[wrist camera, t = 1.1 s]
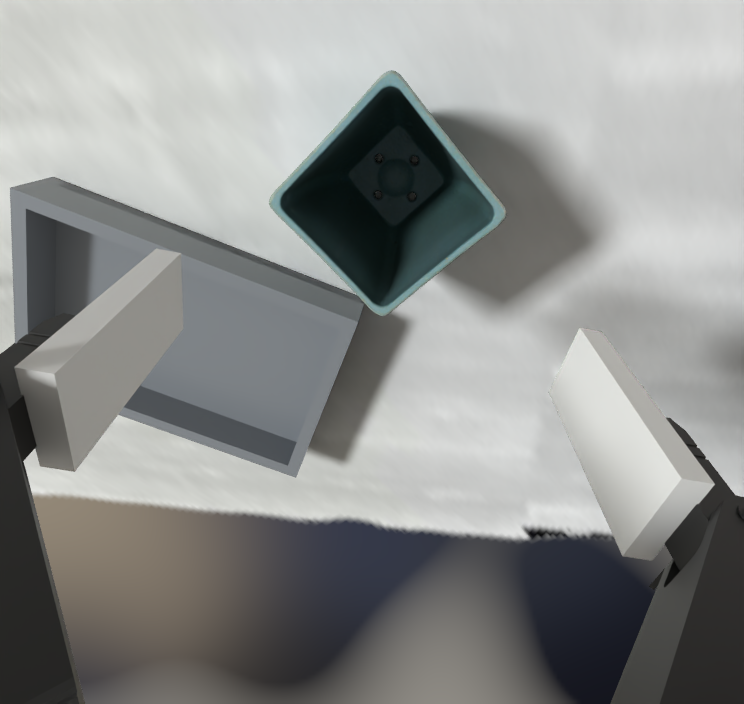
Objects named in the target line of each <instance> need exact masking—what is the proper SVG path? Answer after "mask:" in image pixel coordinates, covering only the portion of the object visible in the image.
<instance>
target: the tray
mask: <svg viewBox="0 0 744 704" xmlns="http://www.w3.org/2000/svg"><path fill="white" fill-rule="evenodd" d="M10 201H11V231H12V262H13V292H14V322H15V343H17V342H18V340H19V339H21V338H22V337H23V336H25V335H26V334H28V335H29V332H30V331H31V330H32V329H34V328H35V327H36V326H38V325H39V324H40V323H41V322H43V321H45V320H47V319H50V318H52V317H55V316H58V315H60V314H63V313H66V314H71V315H77V314H79V313H80V312H81V311H82V310H83V309H85V308H86V307H87V306H88V305H89V304H91V303H92V302H93V301H94V300H95V299H97V298H98V297H99V296H100V295H101V294H102V293H104V292H105V291H106V290H107V289H108V288H110V287H111V286H112V285H113V284H114V283H116V282H117V281H118V280H119V279H120V278H122V277H123V276H124V275H125V274H126V273H128V272H129V271H130V270H131V269H132V268H134V267H135V266H136V265H137V264H138V263H140V262H141V261H142V260H143V259H144V258H146V257H147V256H148V255H149V254H150V253H152V252H153V251H154V250H155V249H161V250H167V251H172V252H177V253H181V271H182V303H183V329H182V331H181V332H180V333H179V335H178V336H177V337H176V339H175V340H174V341H173V342H172V344H171V345H170V346H169V348H168V349H167V350H166V352H165V353H164V354H163V356H162V357H161V358H160V360H159V361H158V362H157V364H156V365H155V366H154V368H153V369H152V370H151V372H150V373H149V374H148V376H147V377H146V378H145V380H144V381H143V382H142V383H141V385H140V386H139V387H138V389H137V390H136V391H135V393H134V394H133V395H132V397H131V398H130V399H129V401H128V402H127V403H126V405H125V406H124V407H123V409H122V410H121V411H120V413H119V414H118V415H121V416H124V417H126V418H129V419H132V420H135V421H138V422H140V423H143V424H146V425H149V426H152V427H155V428H157V429H160V430H163V431H166V432H169V433H171V434H174V435H177V436H180V437H183V438H186V439H188V440H191V441H194V442H197V443H200V444H203V445H205V446H208V447H211V448H214V449H217V450H219V451H222V452H225V453H228V454H231V455H234V456H236V457H239V458H242V459H245V460H248V461H250V462H253V463H256V464H259V465H262V466H265V467H267V468H270V469H273V470H276V471H279V472H281V473H284V474H287V475H290V476H293V477H296V476H297V474H298V471H299V469H300V466H301V464H302V461H303V459H304V456H305V454H306V451H307V449H308V446H309V444H310V441H311V439H312V436H313V434H314V431H315V429H316V426H317V424H318V421H319V419H320V416H321V414H322V411H323V409H324V406H325V404H326V401H327V399H328V396H329V394H330V391H331V389H332V386H333V384H334V381H335V379H336V376H337V374H338V371H339V369H340V367H341V364H342V362H343V359H344V357H345V354H346V352H347V349H348V347H349V344H350V342H351V339H352V337H353V334H354V332H355V329H356V327H357V324H358V321H359V318H360V315H361V312H362V309H363V306H364V302H363V301H362V300H361V299H360V298H359V296H357V295H354V294H352V293H349V292H346V291H344V290H341V289H339V288H336V287H334V286H331V285H329V284H326V283H323V282H321V281H318V280H316V279H313V278H311V277H308V276H306V275H303V274H300V273H298V272H295V271H293V270H290V269H288V268H285V267H282V266H280V265H277V264H275V263H272V262H270V261H267V260H265V259H262V258H259V257H257V256H254V255H252V254H249V253H247V252H244V251H241V250H239V249H236V248H234V247H231V246H229V245H226V244H224V243H221V242H218V241H216V240H213V239H211V238H208V237H206V236H203V235H201V234H198V233H195V232H193V231H190V230H188V229H185V228H183V227H180V226H177V225H175V224H172V223H170V222H167V221H165V220H162V219H160V218H157V217H154V216H152V215H149V214H147V213H144V212H142V211H139V210H137V209H134V208H131V207H129V206H126V205H124V204H121V203H119V202H116V201H113V200H111V199H108V198H106V197H103V196H101V195H98V194H96V193H93V192H90V191H88V190H85V189H83V188H80V187H78V186H75V185H72V184H70V183H67V182H65V181H62V180H60V179H57V178H55V177H50V178H47V179H43V180H39V181H35V182H31V183H27V184H23V185H19V186H15V187H11V188H10Z"/></svg>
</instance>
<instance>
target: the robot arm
mask: <svg viewBox="0 0 744 704" xmlns="http://www.w3.org/2000/svg"><path fill="white" fill-rule="evenodd" d="M182 329H183V303H182V271H181V253H177V252H172V251H167V250H161V249H155V250H154V251H153V252H152V253H150V254H149V255H148V256H147V257H146V258H144V259H143V260H142V261H141V262H140V263H138V264H137V265H136V266H135V267H134V268H132V269H131V270H130V271H129V272H128V273H126V274H125V275H124V276H123V277H122V278H120V279H119V280H118V281H117V282H116V283H114V284H113V285H112V286H111V287H110V288H108V289H107V290H106V291H105V292H104V293H102V294H101V295H100V296H99V297H98V298H97V299H95V300H94V301H93V302H92V303H91V304H89V305H88V306H87V307H86V308H85V309H83V310H82V311H81V312H80V313H79V314H77V315H71V314H66V313H63V314H60V315H58V316H55V317H52V318H50V319H47V320H45V321H43V322H41V323H40V324H39V325H38V326H36V327H35V328H34V329H32V330H31V331H30V332H29V335H28V334H26V335H25V336H23V337H22V338H21V339H19V340H18V342H17V343H14V344H13V345H12V346H10V347H9V348H8V349H7V350H5V351H4V352H3V353H1V354H0V704H85V701H84V697H83V693H82V689H81V685H80V681H79V677H78V673H77V669H76V665H75V661H74V658H73V654H72V649H71V645H70V642H69V638H68V634H67V630H66V626H65V622H64V618H63V614H62V610H61V606H60V602H59V599H58V595H57V591H56V587H55V583H54V579H53V575H52V571H51V567H50V563H49V559H48V555H47V552H46V548H45V544H44V540H43V536H42V532H41V528H40V524H39V520H38V516H37V513H36V508H35V504H34V501H33V497H32V493H31V489H30V485H29V481H28V477H27V473H26V469H25V466H24V462H23V461H24V460H25V459H26V457H27V456H28V455H29V454H30V453H31V452H32V451H33V450H34V449H36V452H37V456H38V460H39V464H40V466H42V467H48V468H55V469H61V470H68V471H74V472H75V471H76V469H77V468H78V467H79V465H80V464H81V463H82V461H83V460H84V459H85V458H86V456H87V455H88V454H89V452H90V451H91V450H92V448H93V447H94V446H95V444H96V443H97V442H98V440H99V439H100V438H101V436H102V435H103V434H104V432H105V431H106V430H107V428H108V427H109V426H110V424H111V423H112V422H113V420H114V419H115V418H116V417H117V415H118V414H119V413H120V411H121V410H122V409H123V407H124V406H125V405H126V403H127V402H128V401H129V399H130V398H131V397H132V395H133V394H134V393H135V391H136V390H137V389H138V387H139V386H140V385H141V383H142V382H143V381H144V380H145V378H146V377H147V376H148V374H149V373H150V372H151V370H152V369H153V368H154V366H155V365H156V364H157V362H158V361H159V360H160V358H161V357H162V356H163V354H164V353H165V352H166V350H167V349H168V348H169V346H170V345H171V344H172V342H173V341H174V340H175V339H176V337H177V336H178V335H179V333H180V332H181V331H182ZM548 393H549V395H550V397H551V399H552V401H553V404H554V406H555V408H556V410H557V413H558V415H559V417H560V419H561V421H562V424H563V426H564V428H565V430H566V432H567V435H568V437H569V439H570V441H571V443H572V446H573V448H574V450H575V452H576V454H577V457H578V459H579V461H580V463H581V465H582V468H583V470H584V472H585V474H586V476H587V479H588V481H589V483H590V485H591V487H592V490H593V492H594V494H595V496H596V498H597V501H598V503H599V505H600V507H601V510H602V512H603V514H604V516H605V518H606V521H607V523H608V525H609V527H610V529H611V532H612V534H613V536H614V538H615V540H616V543H617V545H618V547H619V549H620V551H621V554H622V556H626V557H632V558H639V559H646V560H653V559H654V558H655V556H656V555H657V554H658V553H659V552H660V550H661V549H662V548H663V547H664V546H665V545H666V547H667V549H668V550H669V552H670V554H671V556H672V558H673V560H672V561H671V562H670V563H669V564H668V565H667V567H666V568H665V569H664V570H663V571H662V572H661V573H660V575H659V576H658V577H657V578H656V579H655V581H654V582H653V583H652V584H651V585H650V586H649V587H651V588H652V589H655V588H656V587H657V586H658V587H657V589H656V592H655V594H654V597H653V599H652V602H651V604H650V607H649V609H648V612H647V614H646V617H645V619H644V622H643V624H642V627H641V629H640V632H639V634H638V637H637V639H636V642H635V644H634V646H633V649H632V652H631V654H630V656H629V659H628V662H627V664H626V666H625V669H624V671H623V674H622V677H621V679H620V681H619V684H618V686H617V689H616V692H615V694H614V696H613V699H612V701H611V704H744V497H740V496H736V495H735V494H734V493H733V492H732V490H731V489H730V488H729V487H728V485H727V484H726V483H725V481H724V480H723V479H722V477H721V476H720V475H719V474H718V472H717V471H716V470H715V468H714V467H713V466H712V464H711V463H710V462H709V460H706V459H705V458H706V457H705V455H704V454H703V453H702V451H701V450H700V449H699V448H697V445H696V444H695V442H694V441H693V440H692V438H691V437H690V436H689V434H688V433H687V432H686V431H685V430H684V429H683V428H681V427H680V426H679V425H678V424H676V423H675V422H674V421H673V420H672V419H670V418H666V417H665V416H664V415H663V413H662V412H661V411H660V409H659V408H658V407H657V405H656V404H655V403H654V401H653V400H652V399H651V397H650V396H649V395H648V393H647V392H646V391H645V389H644V388H643V387H642V385H641V384H640V382H639V381H638V380H637V378H636V377H635V376H634V374H633V373H632V372H631V370H630V369H629V368H628V366H627V365H626V364H625V362H624V361H623V360H622V358H621V357H620V355H619V354H618V353H617V351H616V350H615V349H614V347H613V346H612V345H611V343H610V342H609V341H608V339H607V338H606V337H605V335H604V334H603V333H602V332H601V331H596V330H591V329H585V328H579V330H578V332H577V334H576V336H575V339H574V341H573V343H572V345H571V347H570V349H569V351H568V353H567V355H566V357H565V359H564V361H563V363H562V365H561V368H560V370H559V372H558V374H557V376H556V378H555V380H554V382H553V384H552V386H551V388H550V390H549V392H548Z"/></svg>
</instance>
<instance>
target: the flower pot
mask: <svg viewBox="0 0 744 704" xmlns="http://www.w3.org/2000/svg"><path fill="white" fill-rule="evenodd" d="M377 154H381V155H382V156H383V161H382V162H381V163H378V162H376V160H375V156H376V155H377ZM412 156H416V157H417V158H418V162H417V163H416V164H412V163H411V162H410V158H411V157H412ZM376 191H380V192H381V193H382V196H381V198H379V199H378V198H376V197H375V196H374V193H375V192H376ZM409 193H415V195H416V197H415V199H414V200H409V199H408V195H409ZM269 205H270V207H271V208H272V210H273V211H274V212H275V213H276V214H277V215H278V216H279V217H280V218H281V219H282V220H283V221H284V222H285V223H286V224H287V225H288V226H289V227H290V228H291V229H292V230H293V231H294V232H295V233H296V234H297V235H298V236H299V237H300V238H301V239H302V240H304V242H305V243H306V244H308V245H309V246H310V247H311V249H312V250H313V251H314V252H315V253H317V254H318V255H319V256H320V258H322V260H323V261H324V262H325V263H326V264H327V265H328V266H329V267H330V268H331V269H332V270H333V271H334V272H335V273H336V274H337V275H338V276H339V277H340V278H341V279H342V280H343V281H344V282H345V283H346V284H347V285H348V286H349V287H350V288H351V289H352V290H353V291H354V292H355V293H356V294H357V295H358V296H359V298H360V299H361V300H362V301H363V302H364V303H365V304H366V305H367V306H368V307H369V309H371V310H372V311H373V312H374V313H376V314H378V315H380V316H386V315H387V314H389V313H390V312H391V311H393V310H394V309H395V308H397V307H398V306H399V305H400V304H401V303H402V302H404V301H405V300H406V299H407V298H408V297H410V296H411V295H412V294H413V293H415V292H416V291H417V290H418V289H419V288H420V287H422V286H423V285H424V284H425V283H427V282H428V281H429V280H430V279H432V278H433V277H434V276H435V275H436V274H438V273H439V272H440V271H442V270H443V269H444V268H445V267H446V266H448V265H449V264H450V263H451V262H453V261H454V260H455V259H456V258H458V257H459V256H460V255H461V254H463V253H464V252H465V251H466V250H468V249H469V248H470V247H472V246H473V245H474V244H475V243H477V242H478V241H479V240H481V239H482V238H483V237H484V236H486V235H487V234H489V233H490V232H491V231H493V230H494V229H495V228H496V227H498V226H499V225H500V224H501V223H502V222H503V220H504V219H505V218H506V215H507V214H506V209H505V207H504V205H503V204H502V203H501V201H500V200H499V199H498V198H497V197H496V195H495V194H494V193H493V191H492V190H491V189H490V188H489V187H488V186H487V184H486V183H485V182H484V181H483V179H482V178H481V177H480V176H479V174H478V173H477V172H476V171H475V169H474V168H473V167H472V166H471V165H470V163H469V162H468V161H467V160H466V158H465V157H464V156H463V154H462V153H461V152H460V151H459V149H458V148H457V147H456V146H455V144H454V143H453V142H452V141H451V139H450V138H449V137H448V135H447V134H446V133H445V132H444V130H443V129H442V128H441V127H440V125H439V124H438V123H437V121H436V120H435V119H434V118H433V116H432V115H431V114H430V112H429V111H428V110H427V109H426V107H425V106H424V105H423V103H422V102H421V101H420V100H419V98H418V97H417V96H416V94H415V93H414V92H413V90H412V89H411V88H410V86H409V85H408V84H407V82H406V81H405V80H404V79H403V77H402V76H401V75H400V74H399V73H397V72H396V71H388V72H386V73H384V74H383V75H382V76H381V77H380V78H379V79H378V80H377V81H376V82H375V83H374V84H373V85H372V87H371V88H370V89H369V90H368V91H367V92H366V93H365V94H364V96H363V97H362V98H361V99H360V100H359V101H358V102H357V103H356V104H355V106H354V107H353V108H352V109H351V110H350V111H349V112H348V114H346V116H345V117H344V118H343V119H342V120H341V121H340V122H339V124H338V125H337V126H336V127H335V128H334V129H333V130H332V131H331V132H330V133H329V135H328V136H327V137H326V138H325V139H324V140H323V141H322V142H321V143H320V144H319V145H318V146H317V147H316V148H315V149H314V150H313V151H312V152H311V154H310V155H309V156H308V157H307V158H306V159H305V160H304V161H303V162H302V163H301V164H300V165H299V167H298V168H297V169H296V170H295V171H294V172H293V173H292V174H291V175H290V176H289V177H288V178H287V179H286V180H285V181H284V182H283V183H282V185H281V186H279V187H278V188H277V190H276V191H275V192H274V193H273V194H272V196H271V197H270V200H269Z"/></svg>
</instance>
